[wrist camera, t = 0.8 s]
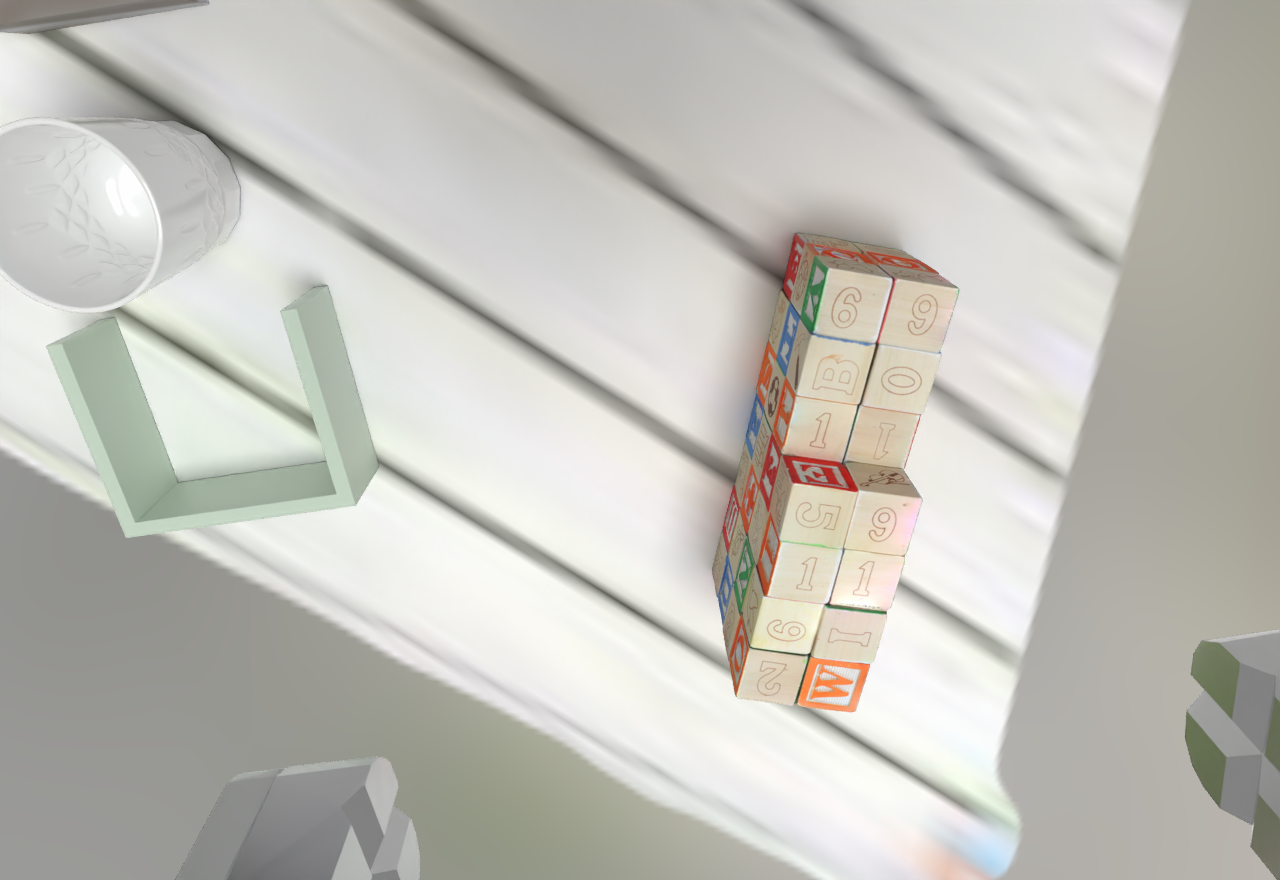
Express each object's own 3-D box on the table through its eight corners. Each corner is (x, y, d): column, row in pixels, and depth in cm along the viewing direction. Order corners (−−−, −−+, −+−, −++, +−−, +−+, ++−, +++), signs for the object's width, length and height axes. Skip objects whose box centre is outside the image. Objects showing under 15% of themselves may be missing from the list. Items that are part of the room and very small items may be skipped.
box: (100, 319, 48) (45, 346, 44) (327, 285, 48) (296, 308, 43) (169, 496, 52) (126, 537, 48) (379, 466, 52) (355, 505, 47)
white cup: (237, 105, 44) (137, 115, 35) (266, 263, 47) (180, 311, 38) (78, 109, 44) (-65, 119, 35) (117, 267, 47) (-5, 315, 38)
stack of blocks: (791, 228, 47) (845, 279, 36) (904, 248, 48) (993, 304, 36) (710, 572, 55) (734, 703, 44) (808, 586, 56) (856, 718, 45)
